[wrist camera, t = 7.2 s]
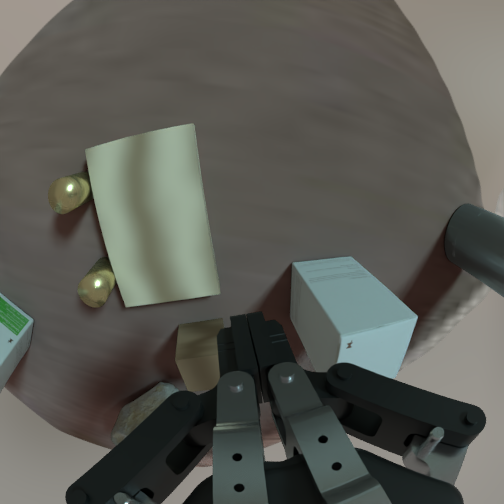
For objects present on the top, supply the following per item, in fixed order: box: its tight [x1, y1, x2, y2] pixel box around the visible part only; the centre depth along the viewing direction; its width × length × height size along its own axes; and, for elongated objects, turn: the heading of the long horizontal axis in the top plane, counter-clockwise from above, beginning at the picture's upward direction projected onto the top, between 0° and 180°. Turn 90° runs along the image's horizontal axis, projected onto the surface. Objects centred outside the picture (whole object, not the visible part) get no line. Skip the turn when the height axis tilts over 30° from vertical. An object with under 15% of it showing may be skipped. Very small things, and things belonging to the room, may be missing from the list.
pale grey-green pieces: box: [85, 124, 220, 307], centre depth 24 cm, size 10×16×2 cm, turn 6°
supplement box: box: [290, 257, 418, 379], centre depth 25 cm, size 7×7×13 cm
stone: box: [111, 382, 179, 446], centre depth 29 cm, size 14×6×10 cm, turn 123°
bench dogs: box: [48, 171, 117, 308], centre depth 22 cm, size 3×12×5 cm, turn 7°
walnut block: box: [175, 318, 224, 392], centre depth 28 cm, size 5×5×6 cm
